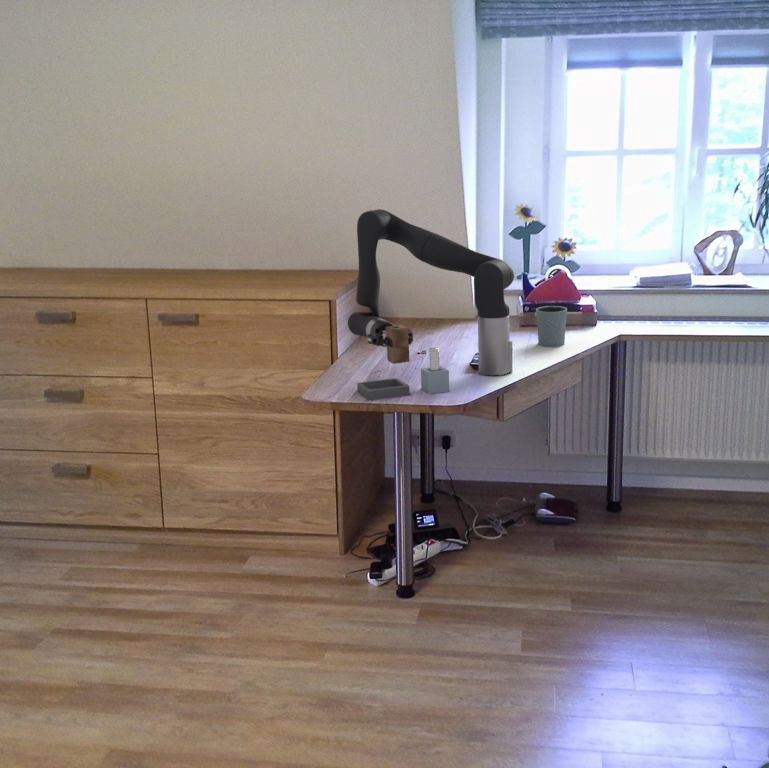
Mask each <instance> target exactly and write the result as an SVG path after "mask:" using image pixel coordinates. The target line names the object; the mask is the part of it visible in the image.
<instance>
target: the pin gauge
mask: <svg viewBox="0 0 769 768" xmlns="http://www.w3.org/2000/svg"><path fill="white" fill-rule="evenodd" d="M439 349H440V348H439V347H435V346H434V347H429V367H430V371H431V372H432V371H439V366H440V350H439Z"/></svg>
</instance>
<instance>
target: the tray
mask: <svg viewBox="0 0 769 768" xmlns="http://www.w3.org/2000/svg"><path fill="white" fill-rule="evenodd" d="M356 385H357V387H356V388H357V392H358V393H359V394H360V395H361V396H363V397H364V398H365V399H366V400H368V401H373V400H380V399H386V398H387V399H388V398H394V397H401V396H409V395H411V393H410V392H411V389H410V387H411V386H410V385H409V384H407V383H406V382H404V381H403V380H401V379H399V378H398V377H393V378H384V379H377V380H371V381H370V380H369V381H363V382H362V381H361V382H357V383H356Z"/></svg>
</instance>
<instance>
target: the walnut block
mask: <svg viewBox="0 0 769 768" xmlns="http://www.w3.org/2000/svg"><path fill="white" fill-rule="evenodd" d="M408 329H409V327H407V326H405V325H403V324H399V325H395V326H389V327H386V336H387V337H388V338H390V339H392V343H393V347H389V346H387V347H386V355H387V356H386V357H387V362H389V363H391V364H393V365H395V364H404V363H410V361H411V360H410V345H409V343H408Z"/></svg>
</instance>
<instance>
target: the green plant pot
mask: <svg viewBox="0 0 769 768" xmlns="http://www.w3.org/2000/svg"><path fill="white" fill-rule="evenodd" d="M535 314H536V321H537V322H536V324H537V339H538V341H537V343H538V346H541V347H544V348H545V347H548V348H554V347H555V348H556V347H563V346H564V345H565V341H566V340H565V338H566V336H565V335H566V326H567V314H568V308H567V307H566V306H560V305H557V306H556V305H545V306H539V307H537V308H535Z"/></svg>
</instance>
